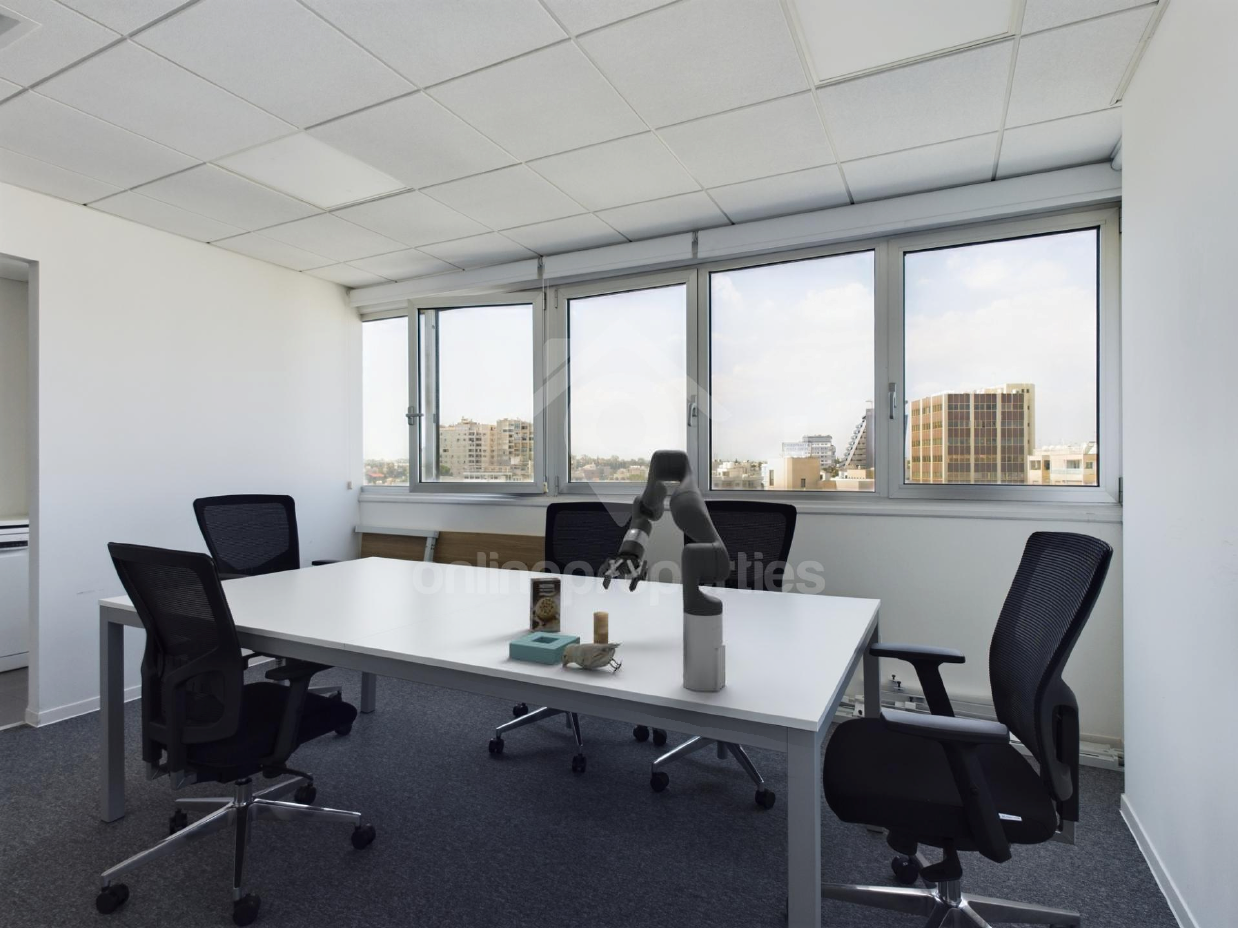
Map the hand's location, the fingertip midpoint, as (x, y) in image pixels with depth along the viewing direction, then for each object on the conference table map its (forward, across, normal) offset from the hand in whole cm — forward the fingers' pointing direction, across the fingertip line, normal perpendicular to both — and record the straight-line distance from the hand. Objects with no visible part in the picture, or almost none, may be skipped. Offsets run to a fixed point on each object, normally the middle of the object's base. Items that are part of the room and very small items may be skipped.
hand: (617, 588), depth 194 cm
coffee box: (+10, -26, +12) cm, 30 cm away
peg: (+18, 0, +3) cm, 19 cm away
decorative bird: (+31, +6, -9) cm, 33 cm away
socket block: (+27, -11, -6) cm, 30 cm away
